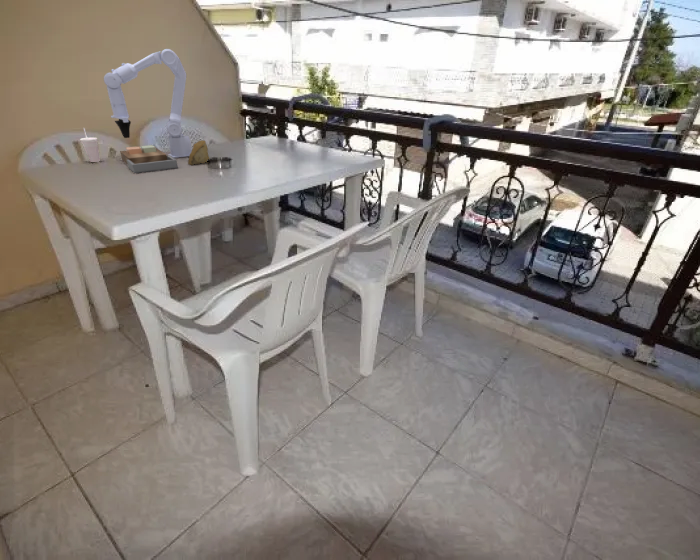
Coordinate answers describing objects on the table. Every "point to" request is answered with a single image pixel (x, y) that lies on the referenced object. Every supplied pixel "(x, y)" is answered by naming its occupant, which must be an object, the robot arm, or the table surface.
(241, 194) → the table surface
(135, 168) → the box
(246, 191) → the table surface
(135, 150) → the terracotta tile
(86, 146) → the smoothie
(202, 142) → the rock
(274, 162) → the table surface
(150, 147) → the sage tile
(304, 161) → the table surface
